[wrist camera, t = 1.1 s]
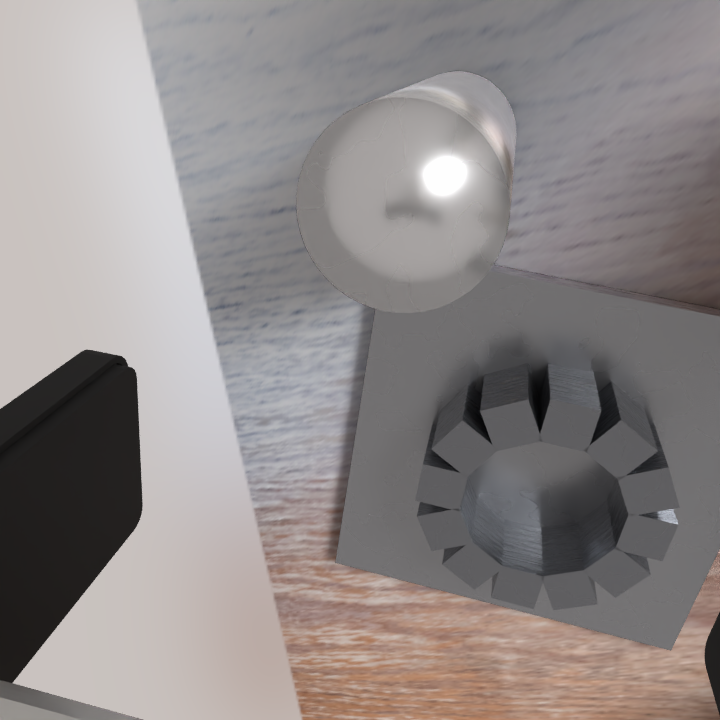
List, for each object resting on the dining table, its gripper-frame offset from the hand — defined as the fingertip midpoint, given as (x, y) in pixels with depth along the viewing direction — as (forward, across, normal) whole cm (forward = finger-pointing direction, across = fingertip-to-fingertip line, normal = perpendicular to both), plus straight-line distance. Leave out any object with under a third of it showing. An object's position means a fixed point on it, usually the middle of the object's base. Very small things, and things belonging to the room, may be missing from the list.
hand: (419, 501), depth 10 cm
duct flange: (+21, -5, +12) cm, 25 cm away
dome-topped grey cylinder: (+21, +2, -2) cm, 22 cm away
